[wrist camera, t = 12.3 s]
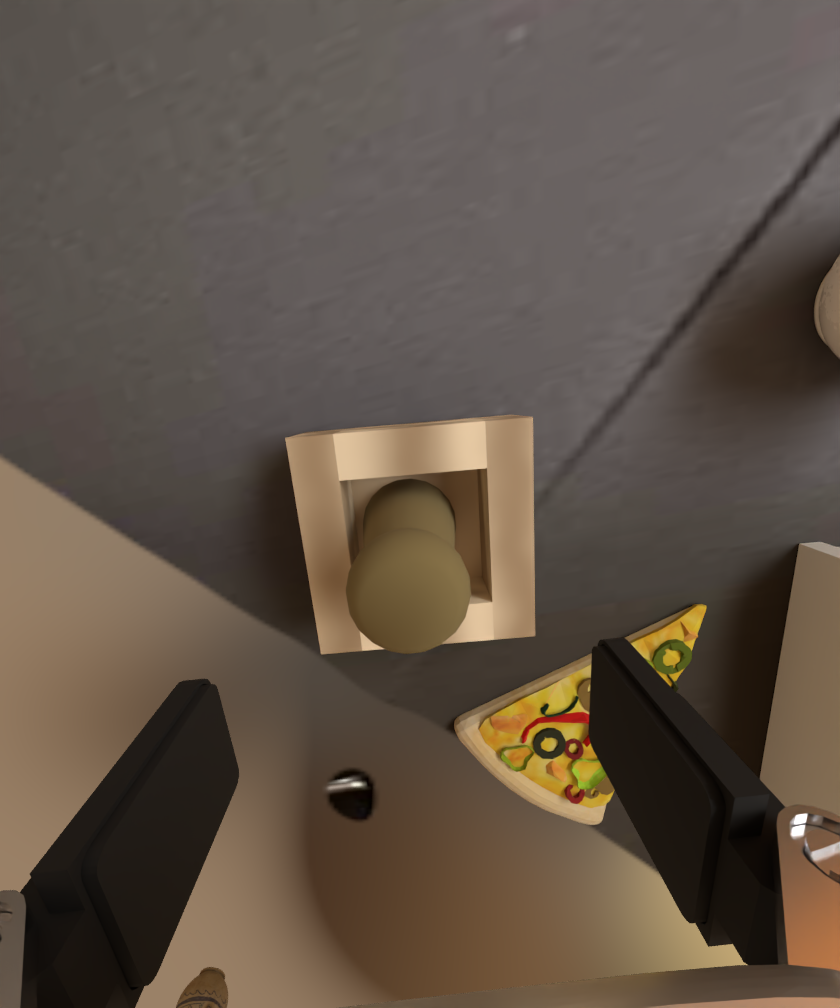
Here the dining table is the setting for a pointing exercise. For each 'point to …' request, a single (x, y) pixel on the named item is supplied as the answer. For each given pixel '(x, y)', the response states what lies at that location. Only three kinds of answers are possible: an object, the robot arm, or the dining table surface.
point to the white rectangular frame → (808, 688)
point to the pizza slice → (565, 725)
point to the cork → (408, 570)
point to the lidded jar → (829, 309)
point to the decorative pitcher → (205, 990)
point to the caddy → (464, 481)
